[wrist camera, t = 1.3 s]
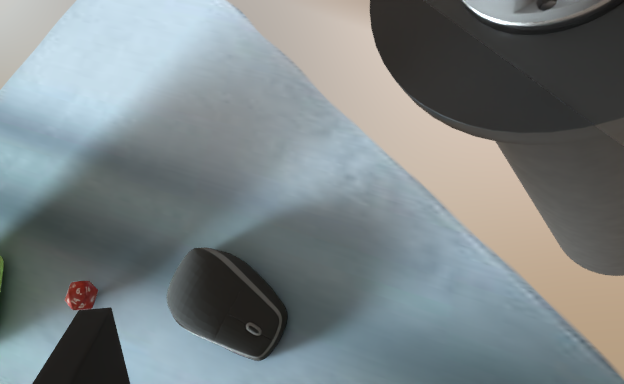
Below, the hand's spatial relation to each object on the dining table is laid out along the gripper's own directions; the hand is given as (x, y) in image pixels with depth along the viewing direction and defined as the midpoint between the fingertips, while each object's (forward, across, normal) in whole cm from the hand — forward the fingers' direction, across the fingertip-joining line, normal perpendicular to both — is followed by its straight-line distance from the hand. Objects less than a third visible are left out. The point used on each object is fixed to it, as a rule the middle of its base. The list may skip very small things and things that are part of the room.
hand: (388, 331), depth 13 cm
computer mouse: (+29, -9, -17) cm, 35 cm away
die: (+37, -24, -21) cm, 49 cm away
